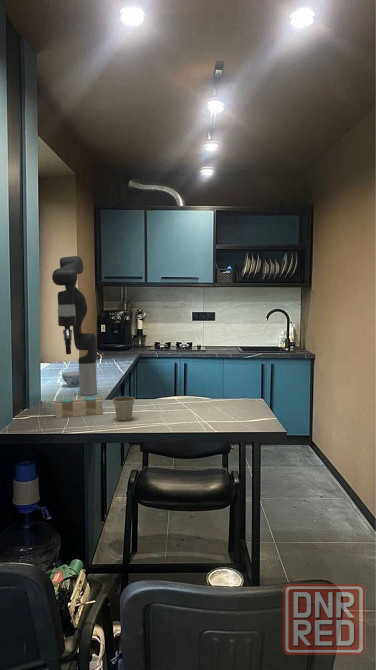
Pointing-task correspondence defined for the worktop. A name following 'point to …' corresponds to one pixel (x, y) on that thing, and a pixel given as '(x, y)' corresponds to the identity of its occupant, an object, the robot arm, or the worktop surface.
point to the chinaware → (71, 378)
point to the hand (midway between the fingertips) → (68, 354)
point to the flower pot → (124, 407)
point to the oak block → (78, 408)
